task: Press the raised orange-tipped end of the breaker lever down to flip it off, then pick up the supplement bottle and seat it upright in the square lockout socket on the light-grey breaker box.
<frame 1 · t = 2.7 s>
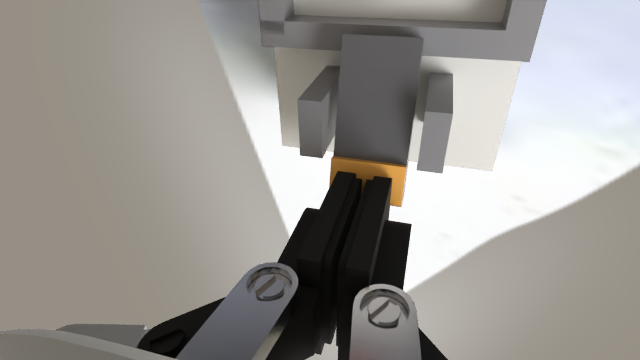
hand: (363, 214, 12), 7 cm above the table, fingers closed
breaker lever: (374, 122, 12), point 6 cm above the table, hinge at -16.8°, touching gripper
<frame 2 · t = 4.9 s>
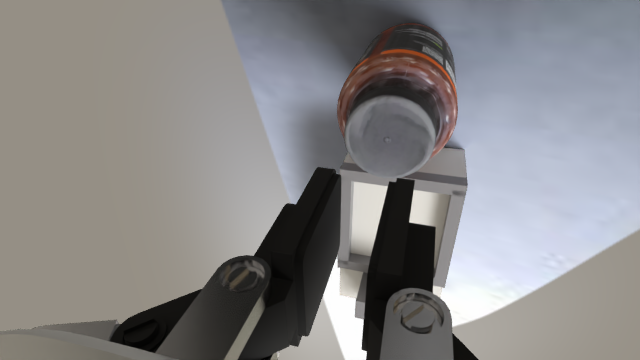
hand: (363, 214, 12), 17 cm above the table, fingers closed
supplement bottle: (408, 67, 26), on the table
breaker box: (399, 214, 32), on the table
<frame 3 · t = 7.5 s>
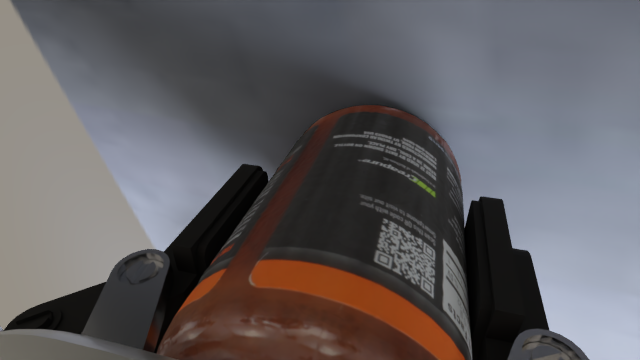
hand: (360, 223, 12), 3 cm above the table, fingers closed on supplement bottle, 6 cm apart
supplement bottle: (375, 175, 14), on the table, touching gripper
when the fingers open (8 cm above the table, at t = 12.4 s): supplement bottle drops 1 cm, resting on breaker box.
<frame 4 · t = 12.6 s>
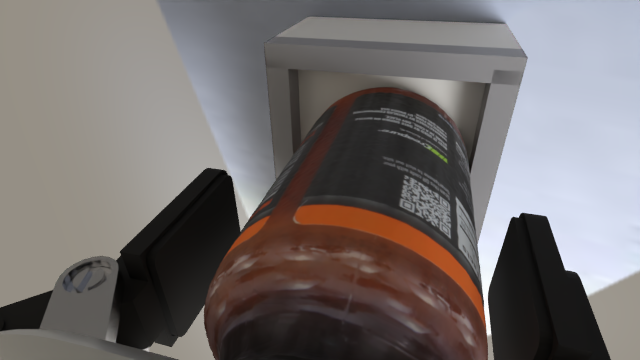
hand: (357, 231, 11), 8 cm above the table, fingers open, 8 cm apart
supplement bottle: (386, 155, 15), point 4 cm above the table, touching breaker box
breaker box: (388, 158, 19), on the table
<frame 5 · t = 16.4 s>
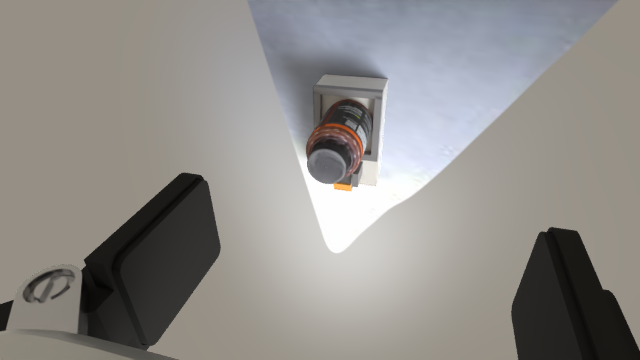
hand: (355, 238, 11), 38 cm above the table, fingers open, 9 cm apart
supplement bottle: (350, 120, 47), point 4 cm above the table, touching breaker box
breaker box: (353, 125, 51), on the table
breaker lever: (342, 175, 48), point 6 cm above the table, hinge at 19.6°
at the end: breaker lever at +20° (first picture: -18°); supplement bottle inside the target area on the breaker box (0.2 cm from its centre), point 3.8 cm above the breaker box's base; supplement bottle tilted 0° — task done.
